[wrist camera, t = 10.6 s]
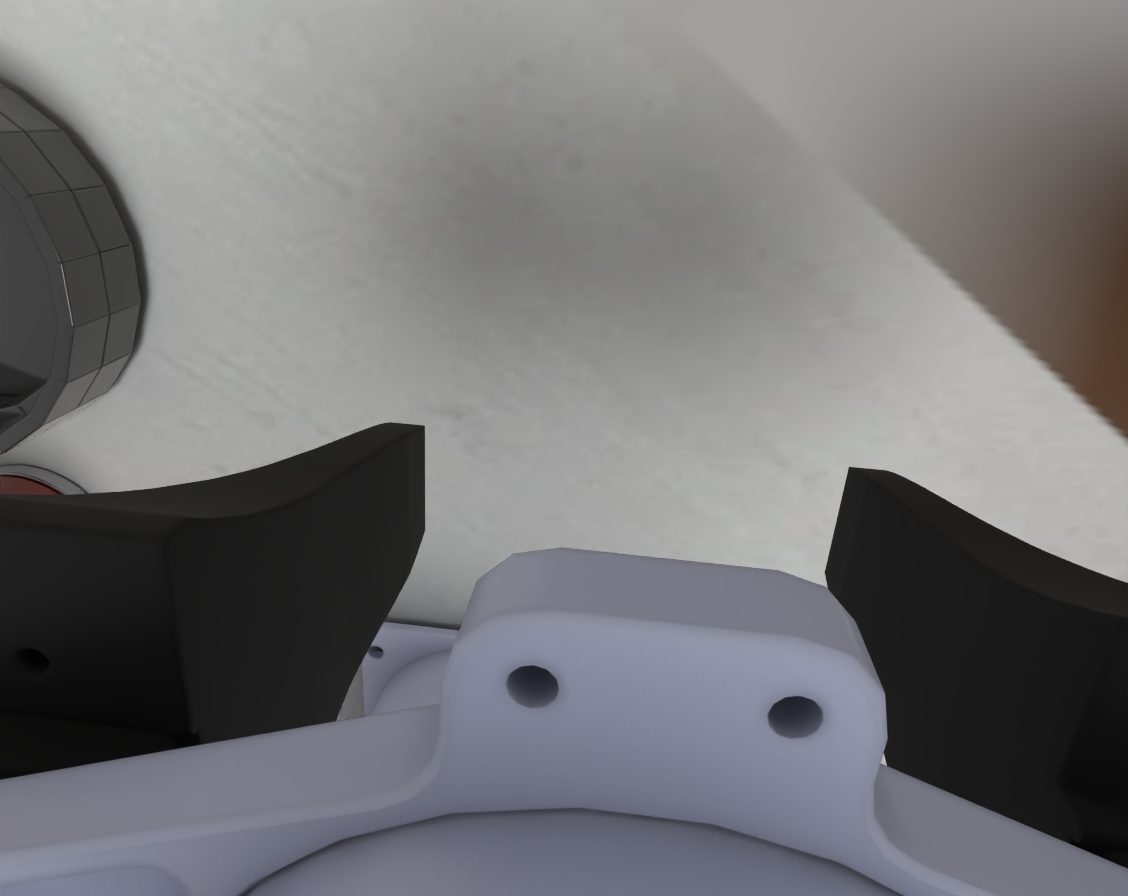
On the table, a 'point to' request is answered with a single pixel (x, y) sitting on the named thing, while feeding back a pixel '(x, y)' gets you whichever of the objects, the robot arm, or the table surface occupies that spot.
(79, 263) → the pan
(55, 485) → the tin can
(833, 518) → the table surface
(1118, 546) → the table surface
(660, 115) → the table surface
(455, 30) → the table surface
